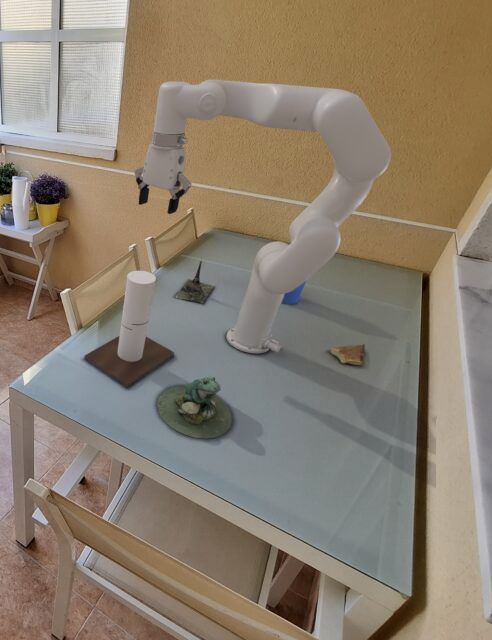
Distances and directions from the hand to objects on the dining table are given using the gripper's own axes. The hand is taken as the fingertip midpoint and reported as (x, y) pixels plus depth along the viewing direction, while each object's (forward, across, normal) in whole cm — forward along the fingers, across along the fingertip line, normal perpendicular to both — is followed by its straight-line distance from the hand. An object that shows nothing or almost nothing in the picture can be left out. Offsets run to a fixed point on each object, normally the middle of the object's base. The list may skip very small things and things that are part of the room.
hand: (156, 208), depth 114 cm
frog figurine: (+38, -34, +20) cm, 55 cm away
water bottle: (+38, -23, -53) cm, 69 cm away
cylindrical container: (+37, -10, +16) cm, 41 cm away
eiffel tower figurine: (+38, 0, -32) cm, 50 cm away
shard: (+38, -50, -34) cm, 72 cm away
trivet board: (+38, -10, +16) cm, 43 cm away
